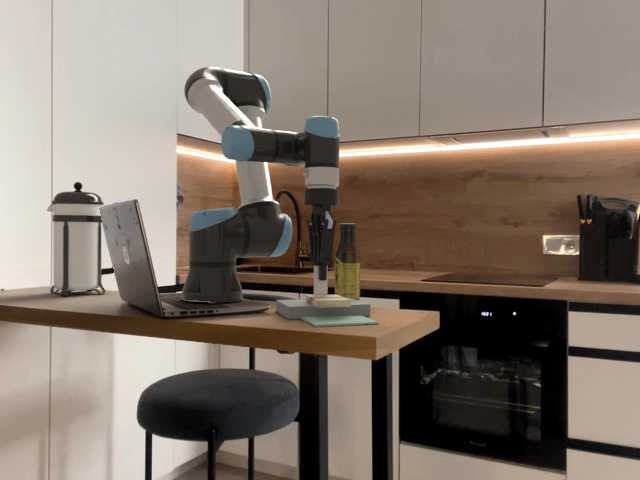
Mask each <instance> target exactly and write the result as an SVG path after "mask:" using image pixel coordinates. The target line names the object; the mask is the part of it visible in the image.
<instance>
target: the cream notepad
mask: <svg viewBox="0 0 640 480" xmlns="http://www.w3.org/2000/svg"><path fill="white" fill-rule="evenodd" d="M305 299H306V302H307V303H309V304H311V305H314V306H316V307H318V308H329V307H351V299H348V298H345V297H342V296H339V295H336V294H335V293H334V294H327V295H314V294H306V295H305Z"/></svg>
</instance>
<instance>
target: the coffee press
mask: <svg viewBox="0 0 640 480" xmlns="http://www.w3.org/2000/svg"><path fill="white" fill-rule="evenodd" d="M83 186H84V185H83V184H82V182H79V181H76V182H74V184H73V188H74V189H75V190H74V191H72V190H71V191H61V192H58V193H57V194H55V196H54V198H53V200H51V204H50V205H49V206H48V207H47V209H46V212H52V213H53V214H52V216H51V217H52V221H51V222H53V230H52V231H53V250H52V251H53V255H52V256H53V257H52V259H53V261H52V263H53V265H52V266H53V271H52V272H53V276H52V277H53V285H52V287H51V288H50V291H49V292H50V293H51V294H57V293H58V292H60V296H61V297H63V298H64V297H69V296H70V294H71V292H75V291H76V292H77V291H87V292H93V291H95V292H96V293H97V294H98V295H104V294H105V293H106V289H105V288H104V286H103V285H102V282H103V281H102V279H103V278H102V276H105V275H112V274H115V273H114V269H113V267H114V266H112V267H109V268H108V267H107V268H102V267H103V266H102V265H103V252H102V251H103V244H102V243H103V242H102V241H103V222H102V220H101V215H100V210H99V208H100V207H102V208H103V206H104V204H105V203H104V201H103V200H102V198H101V196H100V195H99V194H97V193H94V192H89V191H82V189H83ZM99 288H100V290H102V292H100V290H99ZM55 289H56V290H55ZM54 290H55V291H54ZM60 290H61V291H60Z"/></svg>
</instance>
